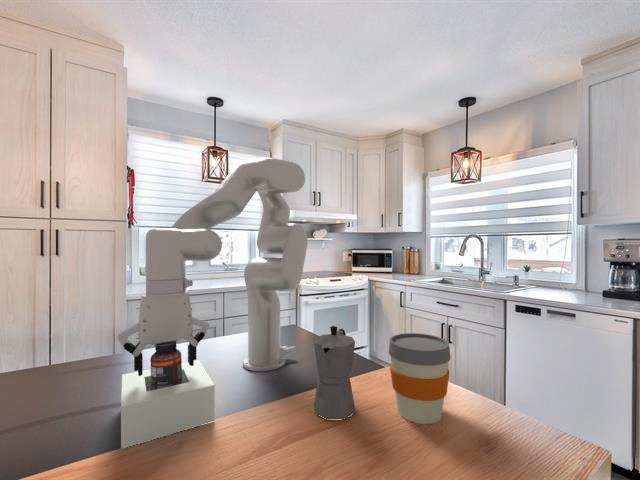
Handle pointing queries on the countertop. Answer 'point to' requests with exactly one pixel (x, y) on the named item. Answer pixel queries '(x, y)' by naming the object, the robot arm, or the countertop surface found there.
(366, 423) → the countertop surface
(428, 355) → the reusable coffee cup
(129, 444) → the sage block
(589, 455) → the countertop surface
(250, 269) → the robot arm
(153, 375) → the supplement bottle
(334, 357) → the coffeepot
